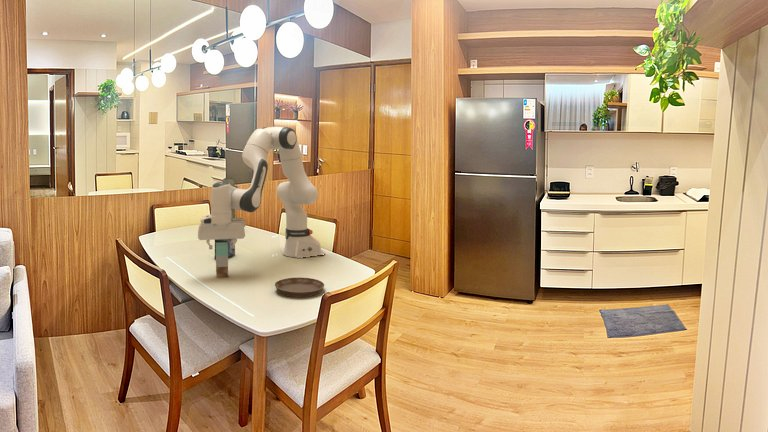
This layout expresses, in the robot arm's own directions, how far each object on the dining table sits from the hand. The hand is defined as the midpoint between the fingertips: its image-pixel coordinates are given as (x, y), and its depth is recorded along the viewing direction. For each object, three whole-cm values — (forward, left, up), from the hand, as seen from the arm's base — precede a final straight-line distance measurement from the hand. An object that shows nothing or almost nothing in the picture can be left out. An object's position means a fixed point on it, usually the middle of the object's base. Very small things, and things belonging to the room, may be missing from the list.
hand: (221, 248), depth 232 cm
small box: (-3, -34, -13) cm, 37 cm away
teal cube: (0, 0, -3) cm, 3 cm away
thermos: (-8, -92, -13) cm, 93 cm away
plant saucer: (-30, +29, -13) cm, 44 cm away
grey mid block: (0, 0, -8) cm, 8 cm away
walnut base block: (0, 0, -13) cm, 13 cm away
